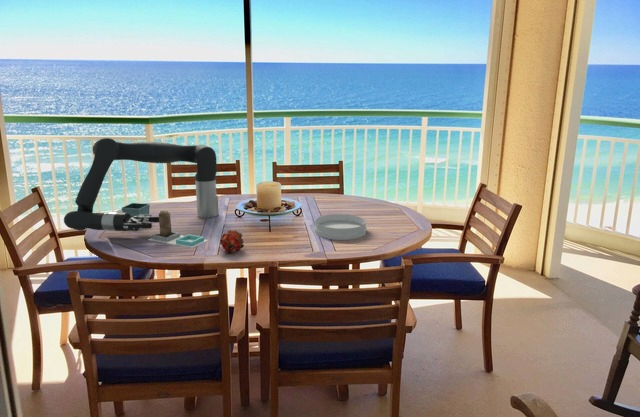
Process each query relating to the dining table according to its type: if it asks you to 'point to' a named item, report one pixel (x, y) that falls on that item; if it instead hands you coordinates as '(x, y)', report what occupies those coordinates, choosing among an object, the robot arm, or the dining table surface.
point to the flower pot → (136, 209)
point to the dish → (340, 226)
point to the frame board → (179, 239)
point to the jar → (165, 223)
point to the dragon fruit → (232, 241)
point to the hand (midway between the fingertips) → (155, 222)
